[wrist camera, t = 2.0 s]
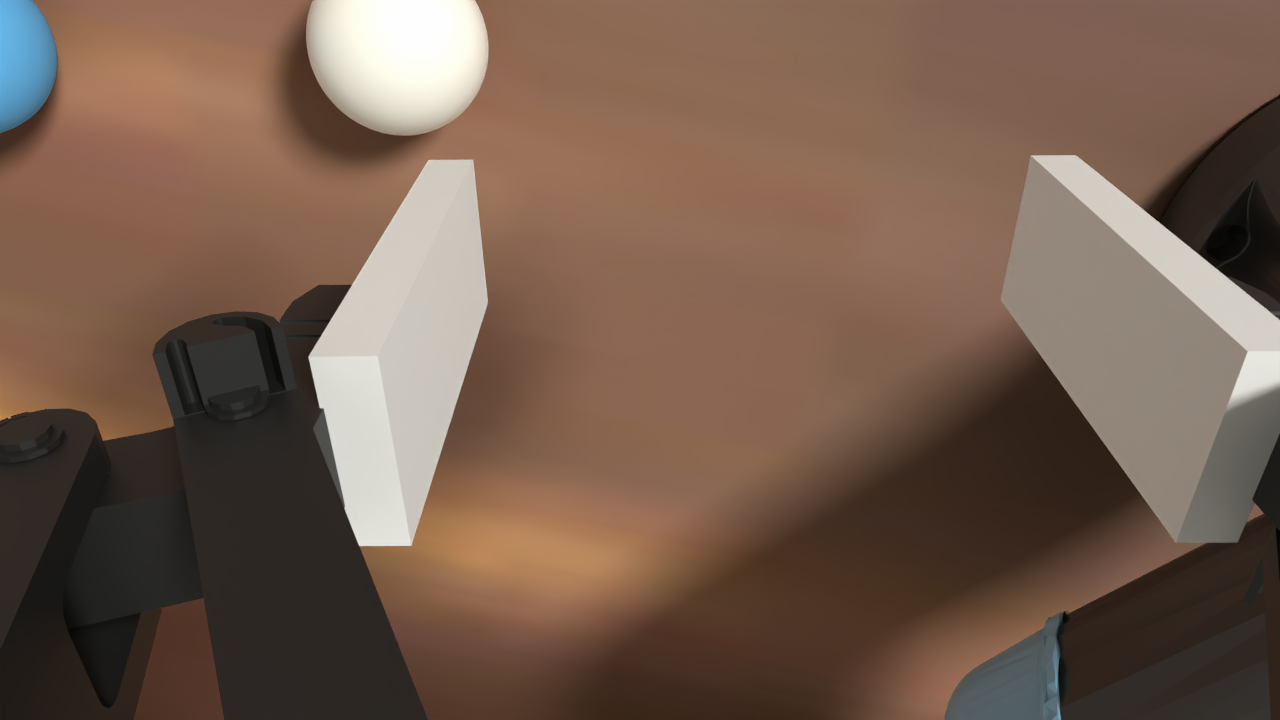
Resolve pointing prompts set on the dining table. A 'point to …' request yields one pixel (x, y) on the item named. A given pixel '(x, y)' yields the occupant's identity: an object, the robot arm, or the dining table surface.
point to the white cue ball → (398, 60)
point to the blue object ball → (24, 62)
